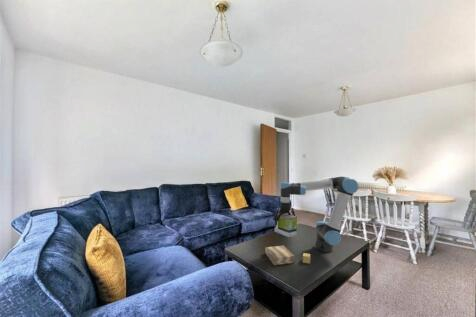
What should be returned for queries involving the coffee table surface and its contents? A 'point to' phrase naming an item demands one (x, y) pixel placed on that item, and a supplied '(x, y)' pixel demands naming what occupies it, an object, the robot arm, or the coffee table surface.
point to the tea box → (287, 225)
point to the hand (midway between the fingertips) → (284, 228)
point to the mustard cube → (306, 258)
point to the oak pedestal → (279, 255)
